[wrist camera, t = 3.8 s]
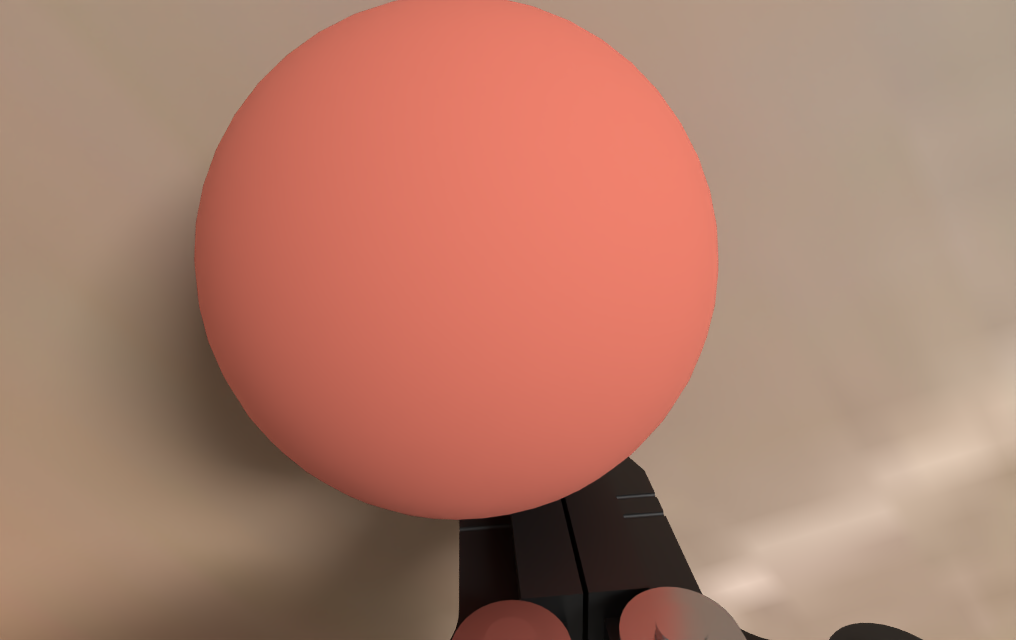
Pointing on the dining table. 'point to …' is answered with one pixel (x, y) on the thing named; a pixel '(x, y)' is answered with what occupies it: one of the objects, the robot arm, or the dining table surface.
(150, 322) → the dining table surface
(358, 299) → the ball
